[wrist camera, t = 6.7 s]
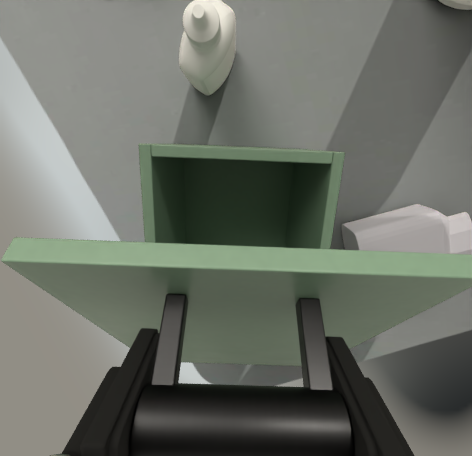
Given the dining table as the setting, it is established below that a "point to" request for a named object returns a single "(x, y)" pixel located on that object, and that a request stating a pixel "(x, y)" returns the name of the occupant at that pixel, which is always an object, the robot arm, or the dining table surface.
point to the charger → (410, 232)
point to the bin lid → (239, 329)
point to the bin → (239, 195)
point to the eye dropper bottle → (207, 44)
